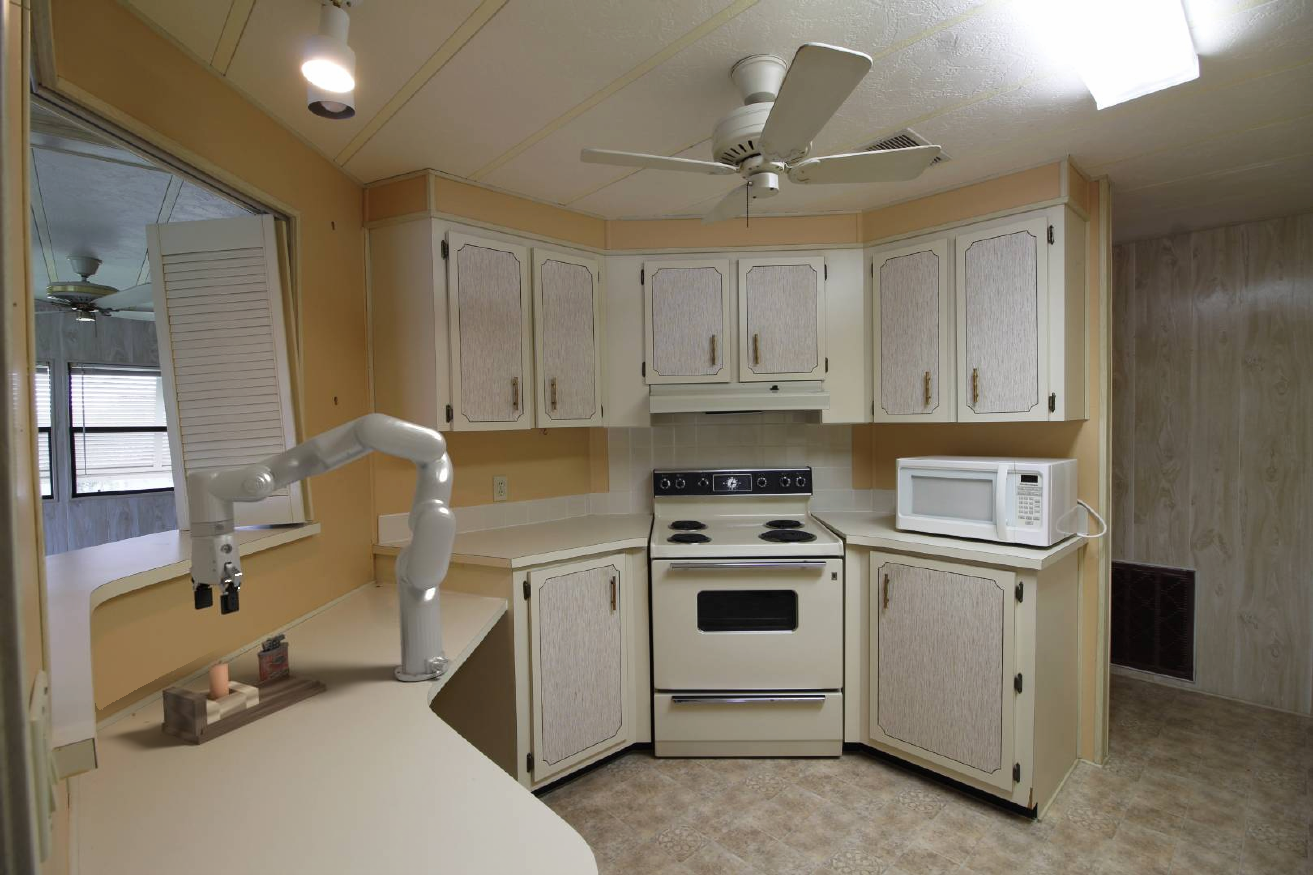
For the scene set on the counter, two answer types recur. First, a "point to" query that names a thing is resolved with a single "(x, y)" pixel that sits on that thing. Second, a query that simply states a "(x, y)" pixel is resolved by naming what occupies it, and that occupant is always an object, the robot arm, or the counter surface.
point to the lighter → (273, 658)
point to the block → (230, 701)
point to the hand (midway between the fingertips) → (217, 610)
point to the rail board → (190, 713)
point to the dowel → (218, 681)
